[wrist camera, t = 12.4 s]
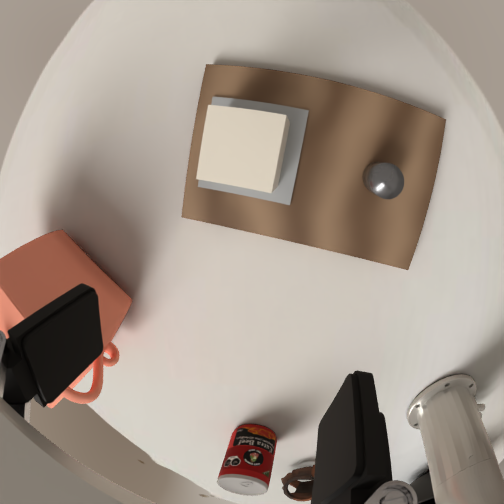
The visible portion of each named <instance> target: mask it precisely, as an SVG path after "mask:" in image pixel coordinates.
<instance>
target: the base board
mask: <svg viewBox="0 0 504 504" xmlns="http://www.w3.org/2000/svg"><path fill="white" fill-rule="evenodd" d="M213 97H223V98H233V99H242V100H250V101H257V102H264V103H271V104H277V105H283V106H288V107H294V108H299V109H304V110H309V112H308V117H307V123H306V128H305V133H304V138H303V143H302V149H301V154H300V159H299V164H298V168H297V173H296V178H295V183H294V188H293V193H292V197H291V202H290V205H286V204H282V203H277V202H273V201H268V200H263V199H258V198H254V197H249V196H244V195H239V194H234V193H229V192H224V191H218V190H213V189H208V188H202V187H198V182H199V180H198V179H196V176H197V169H198V163H199V156H200V150H201V143H202V137H203V131H204V125H205V120H206V114H207V109H208V105H211V103H212V98H213ZM445 122H446V119H443V118H441V117H439V116H437V115H434V114H432V113H430V112H427V111H425V110H422V109H420V108H417V107H415V106H412V105H410V104H407V103H404V102H402V101H399V100H396V99H393V98H390V97H387V96H384V95H381V94H378V93H375V92H371V91H368V90H365V89H361V88H358V87H354V86H350V85H347V84H343V83H339V82H334V81H330V80H326V79H321V78H317V77H312V76H307V75H301V74H296V73H290V72H283V71H277V70H269V69H261V68H252V67H242V66H229V65H211V64H206V68H205V72H204V77H203V82H202V87H201V92H200V97H199V102H198V107H197V113H196V118H195V124H194V130H193V136H192V142H191V149H190V155H189V162H188V169H187V177H186V184H185V192H184V200H183V209H182V217H183V218H188V219H193V220H197V221H202V222H206V223H211V224H216V225H220V226H225V227H229V228H234V229H238V230H243V231H247V232H252V233H256V234H260V235H265V236H269V237H274V238H278V239H282V240H287V241H291V242H295V243H299V244H304V245H308V246H312V247H316V248H321V249H325V250H329V251H333V252H337V253H341V254H346V255H350V256H354V257H358V258H362V259H366V260H370V261H374V262H378V263H382V264H386V265H390V266H394V267H398V268H402V269H406V270H408V269H409V266H410V263H411V261H412V258H413V255H414V252H415V249H416V246H417V243H418V240H419V237H420V234H421V230H422V227H423V224H424V220H425V217H426V213H427V210H428V206H429V202H430V198H431V194H432V190H433V186H434V182H435V178H436V173H437V168H438V164H439V158H440V153H441V148H442V142H443V136H444V129H445ZM372 162H384V163H391V164H394V165H396V166H397V167H398V168H399V169H400V170H401V172H402V174H403V176H404V187H403V190H402V192H401V193H400V194H399V195H398V196H397V197H395V198H393V199H383V198H381V197H379V196H377V195H375V194H374V193H372V192H370V191H369V190H368V189H367V188H366V187H365V185H364V183H363V179H362V175H363V171H364V169H365V167H366V166H367V165H368V164H370V163H372Z"/></svg>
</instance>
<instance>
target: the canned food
mask: <svg viewBox="0 0 504 504" xmlns="http://www.w3.org/2000/svg"><path fill="white" fill-rule="evenodd" d="M276 443H277V439H276V435H275V433H274V432H273V431H272V430H270V429H269V428H267V427H264V426H261V425H256V424H246V425H241V426H239V427H237V428H236V429H235V430H234V432H233V433H232V436H231V439H230V442H229V445H228V448H227V452H226V455H225V458H224V461H223V464H222V467H221V470H220V473H219V476H218V481H217V483H218V485H219V486H220V487H222V488H223V489H225V490H227V491H230V492H233V493H236V494H241V495H251V496H252V495H261V494H264V493H266V492H267V490H268V487H269V482H270V477H271V472H272V466H273V461H274V455H275V449H276Z"/></svg>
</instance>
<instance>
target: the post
mask: <svg viewBox="0 0 504 504" xmlns="http://www.w3.org/2000/svg"><path fill="white" fill-rule="evenodd" d="M362 179H363V183H364V185H365V187H366V188H367V189H368V190H369V191H370V192H372V193H374V194H375V195H377V196H379V197H381V198H383V199H393V198H395V197H397V196H398V195H399V194H400V193H401V192H402V190H403V187H404V176H403V174H402V172H401V170H400V169H399V168H398V167H397V166H396V165H394V164H391V163H384V162H372V163H370V164H368V165H367V166H366V167H365V169H364V171H363V175H362Z"/></svg>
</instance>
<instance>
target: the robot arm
mask: <svg viewBox="0 0 504 504" xmlns="http://www.w3.org/2000/svg"><path fill="white" fill-rule="evenodd" d="M7 332H8V335H9V338H7V339H6V336H5V334H4V333H3V331H1V330H0V504H157V503H154V502H152V501H150V500H148V499H145V498H143V497H141V496H139V495H137V494H135V493H133V492H131V491H129V490H127V489H125V488H123V487H121V486H119V485H117V484H115V483H114V482H112V481H110V480H108V479H106V478H105V477H103V476H101V475H100V474H98V473H96V472H95V471H93V470H91V469H90V468H88V467H87V466H85V465H84V464H82V463H81V462H79V461H78V460H76V459H75V458H73V457H72V456H70V455H69V454H67V453H66V452H65V451H63V450H62V449H60V448H59V447H58V446H56V445H55V444H54V443H52V442H51V441H50V440H49V439H47V438H46V437H45V436H43V435H42V434H41V433H40V432H39V431H37V430H36V429H35V428H34V427H33V426H31V425H30V401H31V399H32V398H33V397H34V399H35V401H36V402H38V403H39V404H40V405H41V406H43V407H45V406H46V405H47V404H48V403H52V402H54V401H55V399H56V398H57V397H58V396H59V395H60V394H61V393H62V392H63V391H64V390H65V389H66V388H67V387H68V386H69V385H70V384H71V383H72V382H73V381H74V380H75V379H76V378H77V377H78V376H79V375H80V374H81V373H82V372H83V371H84V370H85V369H86V368H87V367H88V366H90V365H91V364H92V363H93V362H94V361H95V360H96V359H97V358H98V357H99V356H100V355H101V353H102V351H103V339H102V331H101V322H100V312H99V301H98V295H97V294H96V290H95V289H94V288H92V287H90V286H88V285H86V284H84V283H81V284H79V285H77V286H76V287H74V288H72V289H71V290H69V291H67V292H66V293H64V294H63V295H61V296H59V297H58V298H56V299H55V300H53V301H52V302H50V303H48V304H47V305H45V306H44V307H42V308H41V309H39V310H38V311H36V312H35V313H33V314H31V315H30V316H28V317H27V318H25V319H24V320H22V321H21V322H20V323H18V324H17V325H15V326H14V327H12V328H11V329H9V330H8V331H7ZM476 390H477V386H476V383H475V381H474V380H473V378H472V377H470V376H468V375H464V374H459V375H453V376H449V377H446V378H444V379H441V380H439V381H438V382H436V383H434V384H432V385H431V386H429V387H428V388H426V389H425V390H424V391H423V392H421V393H420V394H419V395H418V396H417V397H416V398H415V399H414V401H413V402H412V403H411V405H410V407H409V409H408V412H407V419H408V422H409V424H410V426H412V427H413V428H416V429H420V431H421V435H422V439H423V444H424V448H425V452H426V457H427V461H428V466H429V471H430V476H431V482H432V488H433V493H434V499H435V503H436V504H504V479H503V476H502V474H501V471H500V468H499V465H498V462H497V459H496V456H495V453H494V450H493V447H492V445H491V442H490V439H489V437H488V434H487V432H486V429H485V427H484V424H483V422H482V419H481V418H482V413H481V412H479V411H483V410H484V409H485V404H477V402H476V400H475V398H474V397H475V394H476ZM311 504H417V495H416V492H415V491H414V489H413V488H412V487H411V486H410V485H409V484H407V483H405V482H403V481H398V480H394V481H392V470H391V460H390V452H389V444H388V436H387V429H386V423H385V417H384V415H383V413H381V412H379V408H378V402H377V395H376V390H375V384H374V378H373V375H372V373H367V372H362V371H355V372H354V373H353V374H348V376H347V377H346V379H345V381H344V383H343V385H342V386H341V388H340V390H339V392H338V393H337V395H336V397H335V398H334V400H333V402H332V403H331V405H330V407H329V408H328V410H327V412H326V413H325V415H324V416H323V418H322V420H321V421H320V424H319V428H318V440H317V452H316V463H315V473H314V482H313V490H312V498H311Z"/></svg>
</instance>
